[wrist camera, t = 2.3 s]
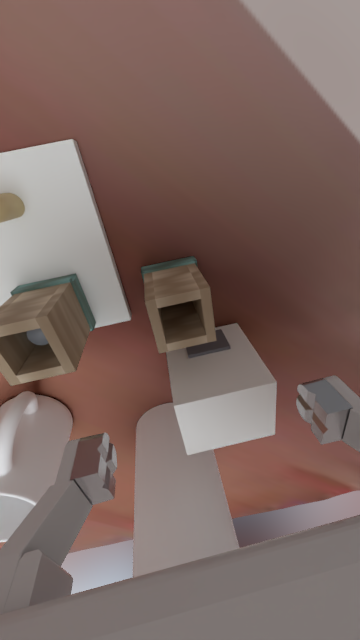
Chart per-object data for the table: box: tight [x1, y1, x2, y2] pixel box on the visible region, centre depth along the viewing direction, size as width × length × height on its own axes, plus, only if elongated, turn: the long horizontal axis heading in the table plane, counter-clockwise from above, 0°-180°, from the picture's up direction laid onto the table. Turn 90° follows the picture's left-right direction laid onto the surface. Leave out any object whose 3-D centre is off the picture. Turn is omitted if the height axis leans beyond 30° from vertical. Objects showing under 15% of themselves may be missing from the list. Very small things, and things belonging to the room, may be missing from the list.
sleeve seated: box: [0, 273, 96, 386], centre depth 18 cm, size 5×5×7 cm
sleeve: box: [141, 256, 217, 354], centre depth 20 cm, size 5×5×7 cm
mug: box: [0, 391, 73, 542], centre depth 24 cm, size 12×8×10 cm
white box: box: [166, 323, 277, 455], centre depth 24 cm, size 8×7×9 cm
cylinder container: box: [133, 403, 239, 577], centre depth 20 cm, size 9×9×30 cm
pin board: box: [0, 139, 131, 345], centre depth 18 cm, size 11×14×6 cm
